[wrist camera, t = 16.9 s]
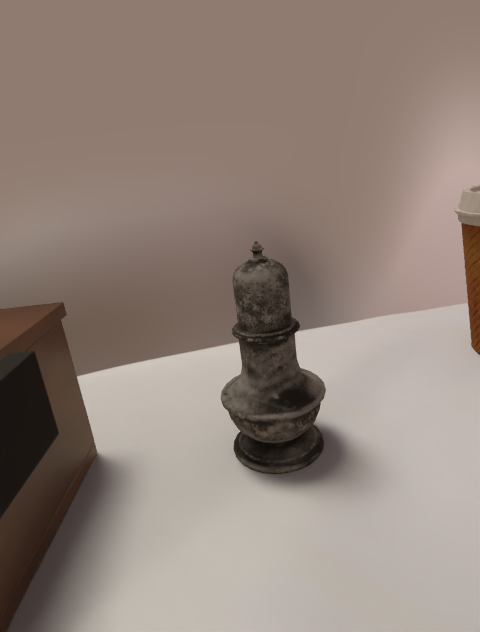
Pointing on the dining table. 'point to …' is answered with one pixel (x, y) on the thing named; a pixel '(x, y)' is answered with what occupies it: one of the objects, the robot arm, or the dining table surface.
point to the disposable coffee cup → (472, 255)
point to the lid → (26, 325)
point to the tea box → (45, 476)
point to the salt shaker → (271, 375)
